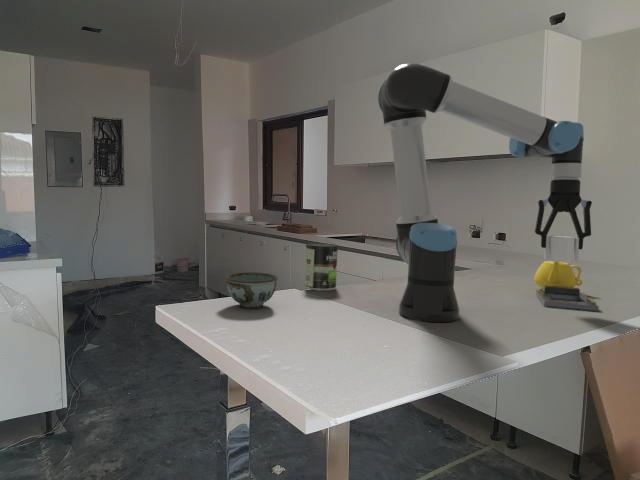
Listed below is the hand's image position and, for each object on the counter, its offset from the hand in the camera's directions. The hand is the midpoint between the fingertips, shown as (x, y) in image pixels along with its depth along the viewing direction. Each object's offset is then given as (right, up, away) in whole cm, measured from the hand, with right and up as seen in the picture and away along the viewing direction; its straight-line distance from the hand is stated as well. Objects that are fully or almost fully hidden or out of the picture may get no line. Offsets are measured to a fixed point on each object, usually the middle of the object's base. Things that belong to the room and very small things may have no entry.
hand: (560, 259), depth 138 cm
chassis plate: (+6, -13, +9) cm, 17 cm away
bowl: (-87, -12, -11) cm, 89 cm away
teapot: (+13, -12, +28) cm, 33 cm away
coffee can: (-69, -10, +18) cm, 72 cm away
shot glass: (0, 0, 0) cm, 0 cm away
